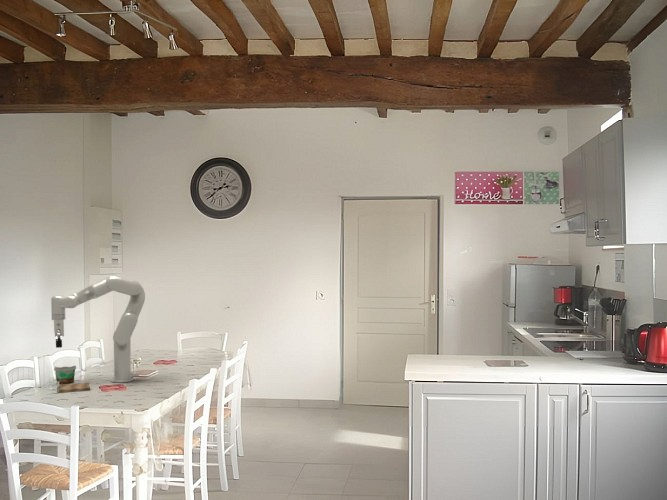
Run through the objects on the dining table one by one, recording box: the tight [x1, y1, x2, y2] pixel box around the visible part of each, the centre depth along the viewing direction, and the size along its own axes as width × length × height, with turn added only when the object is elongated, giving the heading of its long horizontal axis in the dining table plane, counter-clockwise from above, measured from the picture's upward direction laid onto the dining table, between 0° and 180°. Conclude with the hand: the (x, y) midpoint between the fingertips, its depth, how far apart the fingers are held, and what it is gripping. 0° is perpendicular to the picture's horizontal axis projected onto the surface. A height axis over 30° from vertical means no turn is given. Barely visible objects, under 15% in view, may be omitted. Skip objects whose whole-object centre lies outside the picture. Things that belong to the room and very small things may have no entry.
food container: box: [53, 365, 77, 385], centre depth 409 cm, size 12×6×10 cm, turn 105°
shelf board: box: [56, 381, 91, 394], centre depth 393 cm, size 17×16×4 cm
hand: (58, 346), depth 407 cm, fingers open, 9 cm apart
